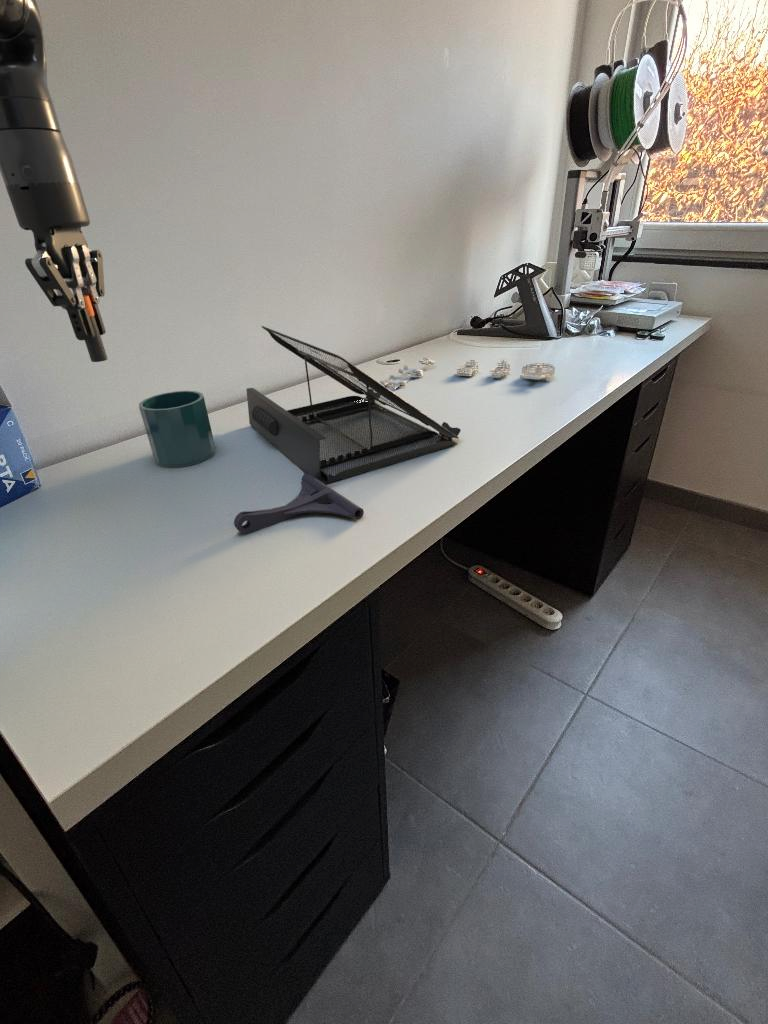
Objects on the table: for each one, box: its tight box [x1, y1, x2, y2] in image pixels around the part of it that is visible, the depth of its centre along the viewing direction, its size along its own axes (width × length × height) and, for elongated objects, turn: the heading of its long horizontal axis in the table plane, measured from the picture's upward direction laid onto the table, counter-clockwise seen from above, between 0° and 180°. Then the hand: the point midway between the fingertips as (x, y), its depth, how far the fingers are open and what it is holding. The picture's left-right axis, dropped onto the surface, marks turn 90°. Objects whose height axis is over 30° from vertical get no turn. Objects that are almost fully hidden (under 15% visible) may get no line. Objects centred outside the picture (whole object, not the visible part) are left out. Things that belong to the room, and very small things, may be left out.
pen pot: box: [138, 390, 217, 469], centre depth 90 cm, size 10×10×10 cm
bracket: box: [233, 473, 365, 535], centre depth 71 cm, size 14×15×3 cm
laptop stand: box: [245, 325, 462, 485], centre depth 93 cm, size 33×28×18 cm
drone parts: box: [379, 357, 556, 391], centre depth 121 cm, size 23×35×3 cm, turn 60°
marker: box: [83, 295, 108, 363], centre depth 69 cm, size 2×2×8 cm
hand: (91, 336), depth 69 cm, fingers closed on marker, 2 cm apart
